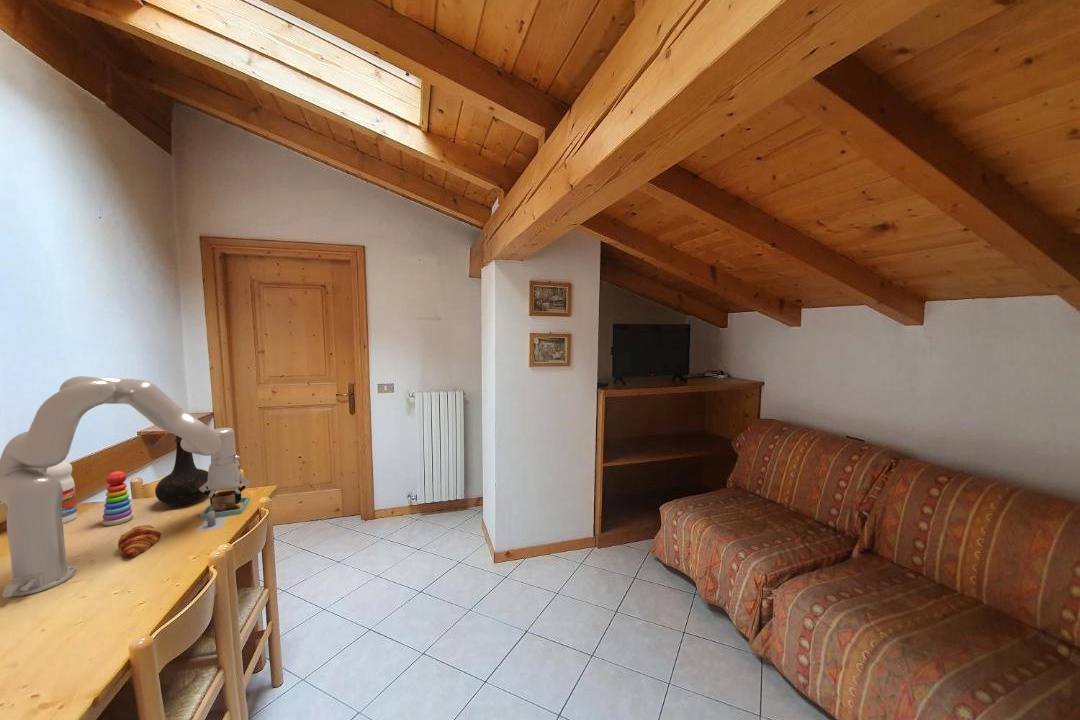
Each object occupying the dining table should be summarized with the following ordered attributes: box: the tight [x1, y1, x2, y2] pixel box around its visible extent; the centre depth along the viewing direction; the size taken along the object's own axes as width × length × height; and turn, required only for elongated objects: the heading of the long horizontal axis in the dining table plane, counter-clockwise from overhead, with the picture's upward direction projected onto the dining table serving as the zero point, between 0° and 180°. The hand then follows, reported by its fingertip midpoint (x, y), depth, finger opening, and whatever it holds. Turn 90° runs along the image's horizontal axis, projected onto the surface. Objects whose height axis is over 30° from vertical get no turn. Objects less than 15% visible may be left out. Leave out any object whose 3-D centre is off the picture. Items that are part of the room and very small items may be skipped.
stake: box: [195, 510, 229, 533], centre depth 145 cm, size 9×7×6 cm
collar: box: [211, 489, 237, 511], centre depth 155 cm, size 7×8×4 cm
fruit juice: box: [46, 458, 78, 524], centre depth 146 cm, size 9×9×28 cm
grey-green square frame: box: [199, 496, 251, 521], centre depth 156 cm, size 13×13×2 cm
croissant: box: [117, 524, 162, 558], centre depth 131 cm, size 21×10×8 cm, turn 35°
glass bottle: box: [154, 435, 208, 506], centre depth 164 cm, size 18×18×28 cm
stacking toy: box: [101, 470, 134, 526], centre depth 147 cm, size 8×8×19 cm
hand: (226, 503), depth 156 cm, fingers closed on collar, 6 cm apart
